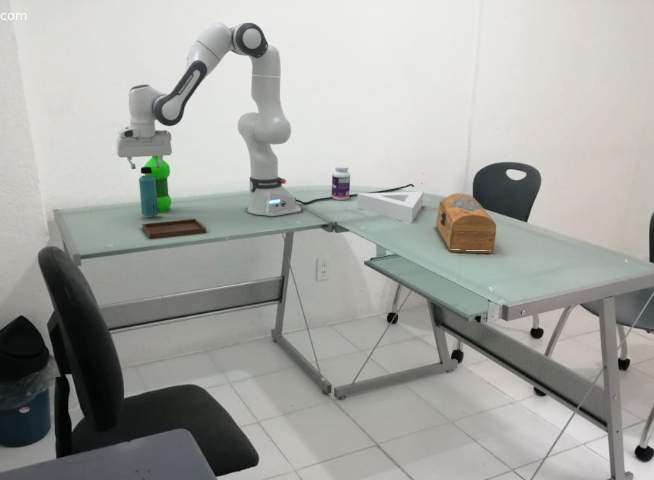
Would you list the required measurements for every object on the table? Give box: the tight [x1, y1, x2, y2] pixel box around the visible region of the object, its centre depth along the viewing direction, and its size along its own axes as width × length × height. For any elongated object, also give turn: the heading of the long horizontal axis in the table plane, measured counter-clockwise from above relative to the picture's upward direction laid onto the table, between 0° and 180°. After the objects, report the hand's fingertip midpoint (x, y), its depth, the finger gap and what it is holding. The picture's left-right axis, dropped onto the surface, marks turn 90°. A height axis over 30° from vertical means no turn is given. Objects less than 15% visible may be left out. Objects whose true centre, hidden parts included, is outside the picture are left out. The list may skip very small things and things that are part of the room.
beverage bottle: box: [138, 166, 159, 217], centre depth 234 cm, size 6×7×20 cm
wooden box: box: [435, 192, 497, 254], centre depth 217 cm, size 30×16×14 cm, turn 176°
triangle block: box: [356, 191, 424, 224], centre depth 256 cm, size 30×26×6 cm
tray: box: [141, 218, 206, 240], centre depth 223 cm, size 20×13×2 cm, turn 115°
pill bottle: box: [331, 165, 351, 201], centre depth 270 cm, size 8×8×14 cm
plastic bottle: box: [143, 156, 172, 213], centre depth 244 cm, size 10×10×25 cm
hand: (145, 168), depth 230 cm, fingers open, 8 cm apart
